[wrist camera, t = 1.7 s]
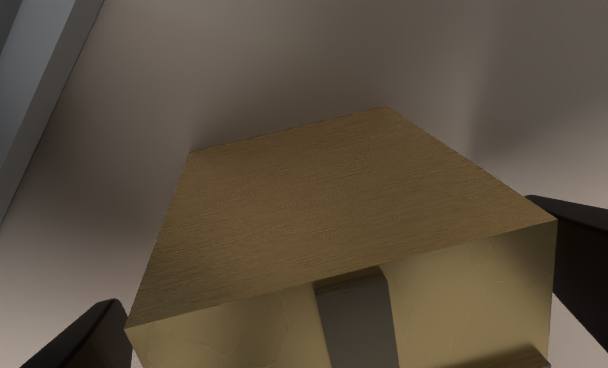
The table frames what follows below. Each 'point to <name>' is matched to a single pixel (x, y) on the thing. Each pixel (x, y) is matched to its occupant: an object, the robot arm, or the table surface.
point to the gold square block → (345, 257)
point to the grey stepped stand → (34, 75)
